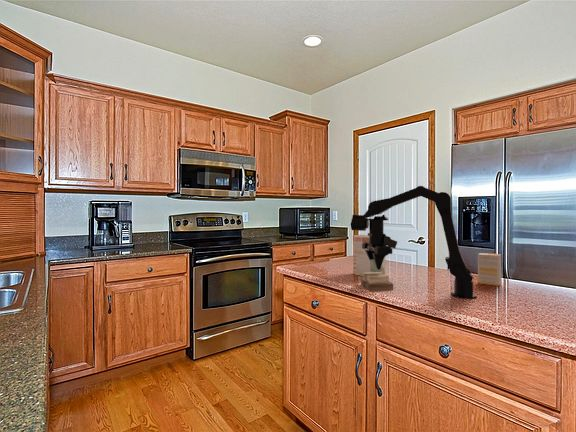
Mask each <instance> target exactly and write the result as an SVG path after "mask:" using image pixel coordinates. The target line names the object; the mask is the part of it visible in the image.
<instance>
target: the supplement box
mask: <svg viewBox="0 0 576 432" xmlns="http://www.w3.org/2000/svg"><path fill="white" fill-rule="evenodd" d="M477 284H479V285H488V286H495V287H500V286H501V285H502V254H501V253H499V254H498V253H487V252H479V253H478V254H477Z"/></svg>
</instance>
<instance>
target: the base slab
mask: <svg viewBox="0 0 576 432" xmlns="http://www.w3.org/2000/svg"><path fill="white" fill-rule="evenodd" d="M360 285H361V286H362V287H363V288H365V289H366V290H367V291H369V292H375V291H394V283H392V282H391V281H389V283H382V284H369V283H368V282H366V281H364V280H363V278H362V279H360Z"/></svg>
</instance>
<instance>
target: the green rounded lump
mask: <svg viewBox="0 0 576 432" xmlns="http://www.w3.org/2000/svg"><path fill="white" fill-rule="evenodd" d="M370 271H373V272H382V271H383V262H382V265H381V269H380V270H378V269H377V267H376V263H375V260H374V259H371V260H370Z"/></svg>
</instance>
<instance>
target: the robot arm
mask: <svg viewBox="0 0 576 432" xmlns="http://www.w3.org/2000/svg"><path fill="white" fill-rule="evenodd" d="M420 197H423V198H424V199H427V200H430V201H432V202H434V204H435V207H436V209H437V211H438V213H439V215H440V218H441V223H442V227H443V233H444V235H445V240H446V245H447V250H448V256H445V259H444V260H445V263H446V265H447V266H446V267H447V269H446V270H447V271H449V273H450V275H452V276H454V283H453V284H454V287H453V290H454V291H453V292H450V295H451V296H454V297H456V298H459V299H477V298H478V297H477V296H476V295H474V281H473V278H474V276H473V273H472V271H470V269H469V268H467V265H466V262H465V260H464V258H463V256H462V253H461V251H460V247H459V243H458V239H457V234H456V229H455V225H454V222H453V216H452V197H451V195H450V194H449V193H447V192H444V191H441V192H437V191H435V190H432V189H429V188H427V187H425V186H423V185H418V186H416V187H415V188H412V189H410V190H407V191H404V192H402V193H400V194H396V195H393V196H392V197H388V198H383V199H377V200H372V201H371V202H370V203H368V206H367V210H366V212H365V213H364V214H352V218H351V221H350V229H351V231H360V232H361V231H363V232H366V231H367V229H369V230H368V231H369V232H367V235H368V236H369V242H364V243H363V244H362V248H363V249H366V248H367V250H365V251H366V253H367V256H368V258H369V260H371V259H374V260H375V263H376V267H377V269H378V270H380V269H381V265H382V262H383V259H384V257H385V256H386V257H387V256H389V255H392V254H393V249H396V247H397V245H398V240H395V239H393V238H392V239H391V236H388V235H386V233H384V231H385V230H384V228H385V227H384V221H389V217H387V216H386V214H383V213H386V212H387V211H389V210H390V209H392V208H394V207H395V206H398V205H400V204H403V203H406V202H409V201H411V200H415V199H417V198H420ZM379 215H381V216H379Z"/></svg>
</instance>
